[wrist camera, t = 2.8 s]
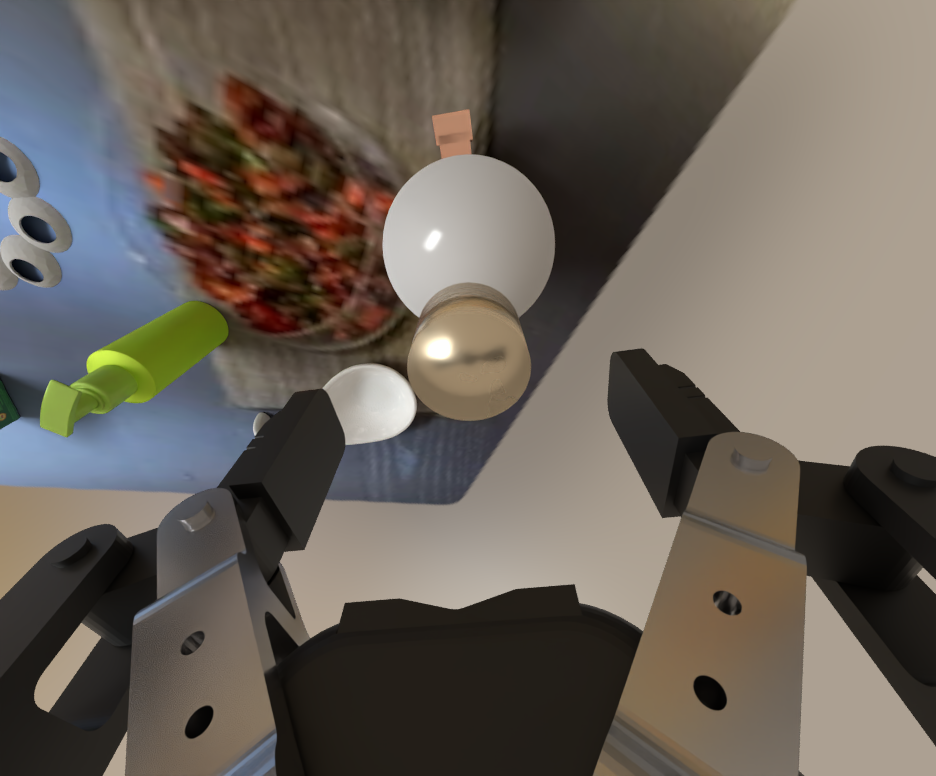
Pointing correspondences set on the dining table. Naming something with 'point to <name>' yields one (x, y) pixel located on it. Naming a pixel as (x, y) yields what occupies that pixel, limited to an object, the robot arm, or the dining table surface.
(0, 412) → the coffee box
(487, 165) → the press pot
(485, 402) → the plunger
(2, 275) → the paint palette
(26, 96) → the dining table surface
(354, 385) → the spoon rest
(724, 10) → the dining table surface
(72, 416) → the soap dispenser
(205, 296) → the dining table surface
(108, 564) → the robot arm
